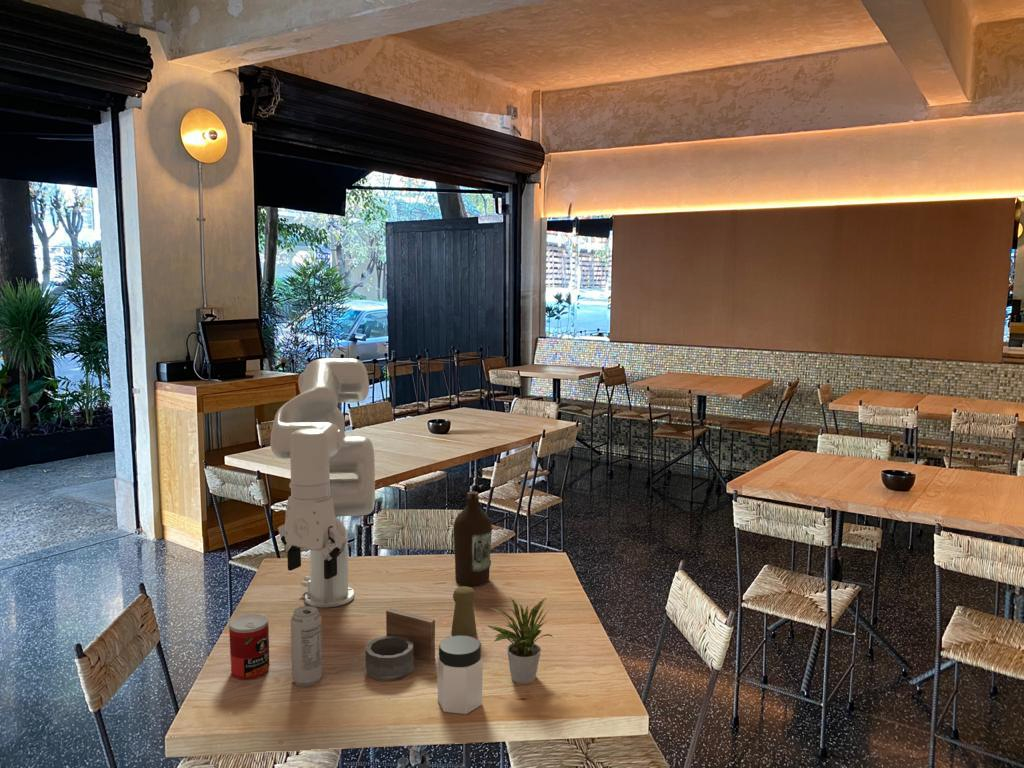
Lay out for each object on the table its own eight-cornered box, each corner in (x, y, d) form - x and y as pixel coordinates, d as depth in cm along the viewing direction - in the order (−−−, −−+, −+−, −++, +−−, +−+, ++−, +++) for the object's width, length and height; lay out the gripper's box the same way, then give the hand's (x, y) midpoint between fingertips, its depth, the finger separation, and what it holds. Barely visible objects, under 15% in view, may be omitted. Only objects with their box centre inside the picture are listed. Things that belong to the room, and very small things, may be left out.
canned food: (248, 684, 152) (246, 633, 151) (222, 673, 156) (220, 623, 155) (277, 668, 158) (276, 619, 157) (252, 658, 163) (251, 610, 161)
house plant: (513, 651, 167) (514, 581, 165) (568, 668, 160) (570, 595, 158) (478, 679, 155) (478, 604, 153) (536, 698, 148) (537, 620, 146)
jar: (460, 686, 152) (460, 630, 151) (490, 700, 147) (490, 642, 145) (428, 704, 145) (428, 646, 144) (458, 720, 140) (458, 659, 139)
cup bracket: (398, 686, 152) (398, 644, 151) (352, 672, 157) (351, 631, 156) (434, 658, 163) (434, 619, 162) (390, 646, 169) (390, 608, 168)
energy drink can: (312, 669, 158) (311, 602, 156) (327, 680, 154) (326, 611, 152) (286, 679, 154) (284, 610, 152) (301, 691, 150) (299, 619, 148)
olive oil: (445, 579, 208) (445, 492, 205) (474, 570, 216) (474, 485, 213) (470, 590, 201) (471, 500, 198) (499, 580, 208) (500, 493, 205)
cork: (473, 640, 172) (473, 594, 171) (447, 637, 174) (447, 592, 172) (479, 628, 178) (479, 584, 177) (455, 626, 179) (455, 582, 178)
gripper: (265, 489, 150) (267, 571, 152) (331, 500, 142) (332, 587, 144) (292, 481, 157) (293, 559, 159) (356, 492, 149) (357, 574, 151)
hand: (312, 572), depth 152 cm, fingers open, 9 cm apart
